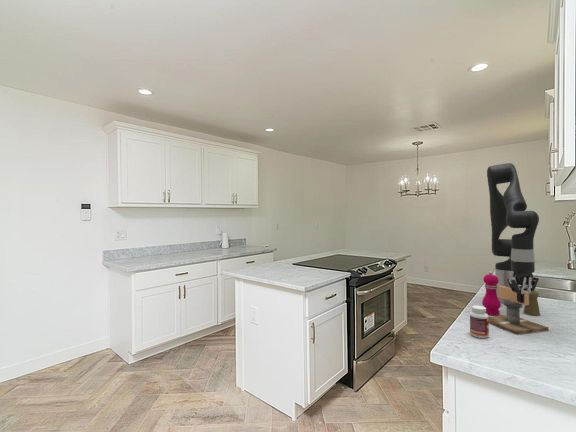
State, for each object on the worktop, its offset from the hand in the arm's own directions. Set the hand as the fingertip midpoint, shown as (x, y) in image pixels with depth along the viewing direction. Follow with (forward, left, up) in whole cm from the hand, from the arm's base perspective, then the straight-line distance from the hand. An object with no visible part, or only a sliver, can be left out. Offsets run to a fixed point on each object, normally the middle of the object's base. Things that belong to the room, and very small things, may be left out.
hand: (523, 302), depth 120 cm
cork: (-21, -14, -11) cm, 27 cm away
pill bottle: (+22, 0, -11) cm, 25 cm away
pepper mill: (-4, -19, -11) cm, 22 cm away
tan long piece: (0, -5, -3) cm, 5 cm away
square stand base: (0, -5, -11) cm, 12 cm away
